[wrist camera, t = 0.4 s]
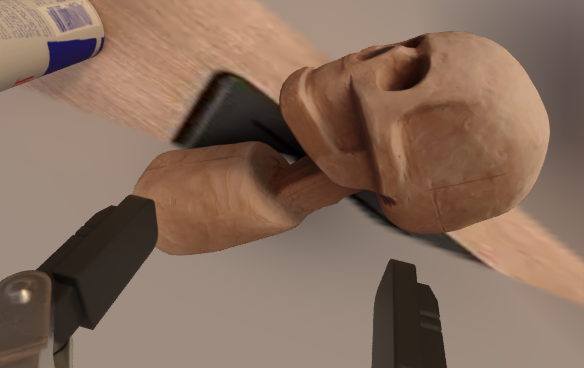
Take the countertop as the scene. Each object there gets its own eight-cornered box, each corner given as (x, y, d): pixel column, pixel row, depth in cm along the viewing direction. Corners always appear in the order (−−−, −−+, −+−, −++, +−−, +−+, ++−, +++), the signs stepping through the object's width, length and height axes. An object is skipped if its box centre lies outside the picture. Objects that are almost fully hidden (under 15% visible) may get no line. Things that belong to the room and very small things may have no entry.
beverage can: (37, -9, 31) (-193, 21, 19) (91, -17, 30) (-119, 8, 17) (66, 59, 34) (-116, 123, 22) (117, 54, 33) (-47, 119, 20)
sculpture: (141, 102, 33) (516, -27, 23) (216, 211, 41) (520, 154, 30) (75, 169, 26) (587, 25, 15) (182, 286, 34) (568, 247, 23)
